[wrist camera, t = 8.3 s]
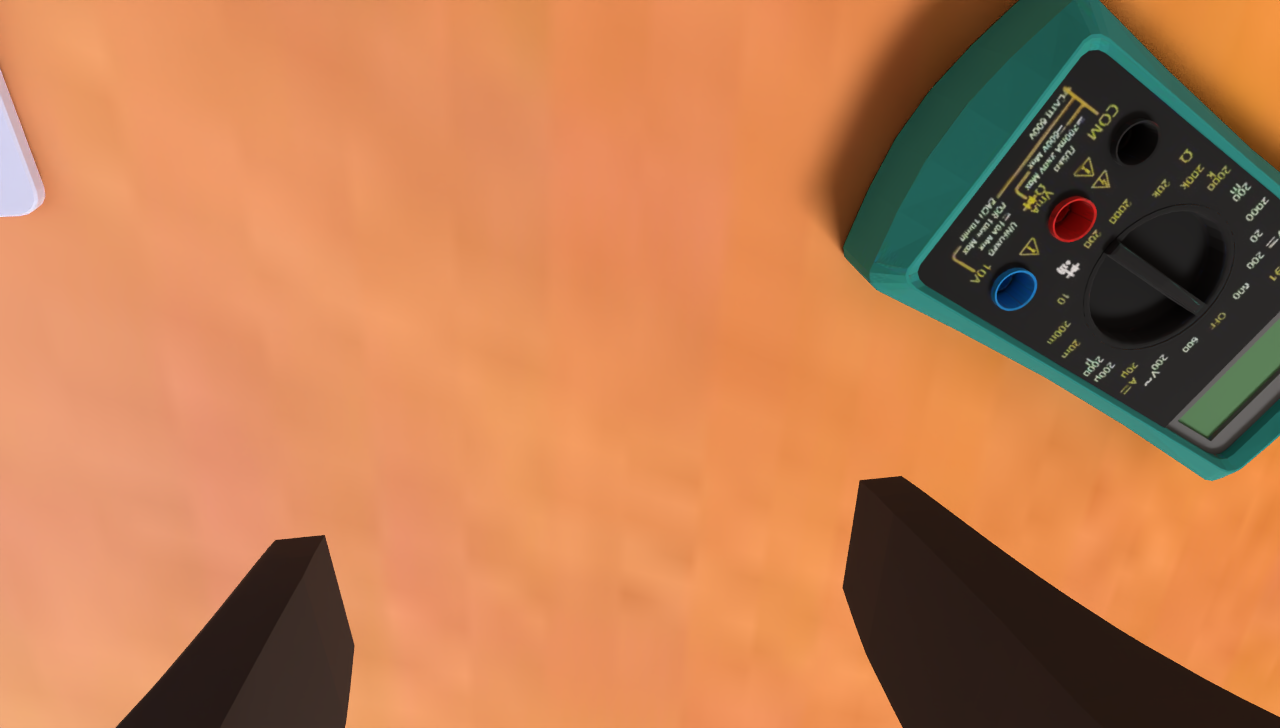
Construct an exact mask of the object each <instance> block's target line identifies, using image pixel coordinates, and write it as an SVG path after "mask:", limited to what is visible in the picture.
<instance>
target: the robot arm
mask: <svg viewBox="0 0 1280 728" xmlns="http://www.w3.org/2000/svg"><path fill="white" fill-rule="evenodd" d="M44 198H45V190H44V185H43V183H42V180H41V177H40V175H39V172H38V169H37V167H36V164H35V161H34V158H33V156H32V153H31V150H30V148H29V145H28V142H27V140H26V137H25V134H24V131H23V129H22V126H21V123H20V121H19V118H18V115H17V113H16V110H15V107H14V104H13V102H12V99H11V96H10V94H9V91H8V88H7V86H6V83H5V80H4V77H3V75H2V72H1V69H0V217H8V216H22V215H26V214H29V213H31V212H32V211H34V210H35V209H37V208H38V207H39V206H40V205H42V204H43V201H44ZM843 590H844V593H845V596H846V599H847V602H848V605H849V608H850V611H851V614H852V617H853V620H854V623H855V625H856V628H857V631H858V634H859V636H860V639H861V642H862V644H863V647H864V650H865V652H866V655H867V657H868V659H869V661H870V663H871V665H872V667H873V669H874V671H875V673H876V675H877V677H878V679H879V681H880V683H881V685H882V687H883V689H884V691H885V693H886V695H887V697H888V700H889V702H890V704H891V706H892V708H893V710H894V711H895V713H896V715H897V717H898V719H899V721H900V723H901V725H902V727H903V728H1280V717H1278V716H1276V715H1274V714H1272V713H1270V712H1268V711H1266V710H1264V709H1262V708H1260V707H1258V706H1256V705H1254V704H1252V703H1250V702H1248V701H1246V700H1244V699H1242V698H1240V697H1238V696H1236V695H1234V694H1232V693H1230V692H1229V691H1227V690H1225V689H1223V688H1221V687H1219V686H1217V685H1215V684H1213V683H1211V682H1210V681H1208V680H1206V679H1204V678H1202V677H1200V676H1199V675H1197V674H1195V673H1193V672H1192V671H1190V670H1188V669H1186V668H1185V667H1183V666H1181V665H1179V664H1178V663H1176V662H1174V661H1172V660H1171V659H1169V658H1167V657H1165V656H1163V655H1162V654H1160V653H1158V652H1156V651H1155V650H1153V649H1151V648H1149V647H1148V646H1146V645H1144V644H1143V643H1141V642H1139V641H1138V640H1136V639H1134V638H1133V637H1131V636H1129V635H1128V634H1126V633H1124V632H1123V631H1121V630H1119V629H1118V628H1116V627H1115V626H1113V625H1111V624H1110V623H1108V622H1107V621H1105V620H1104V619H1102V618H1101V617H1099V616H1098V615H1096V614H1094V613H1093V612H1091V611H1090V610H1088V609H1087V608H1085V607H1084V606H1082V605H1081V604H1079V603H1078V602H1076V601H1074V600H1073V599H1071V598H1070V597H1068V596H1067V595H1065V594H1064V593H1062V592H1061V591H1059V590H1058V589H1056V588H1055V587H1054V586H1052V585H1051V584H1049V583H1048V582H1046V581H1045V580H1043V579H1042V578H1040V577H1039V576H1038V575H1036V574H1035V573H1033V572H1032V571H1030V570H1029V569H1028V568H1026V567H1025V566H1023V565H1022V564H1021V563H1019V562H1018V561H1016V560H1015V559H1014V558H1012V557H1011V556H1009V555H1008V554H1007V553H1005V552H1004V551H1003V550H1001V549H1000V548H998V547H997V546H996V545H994V544H993V543H992V542H990V541H989V540H988V539H986V538H985V537H983V536H982V535H981V534H979V533H978V532H977V531H975V530H974V529H973V528H971V527H970V526H969V525H967V524H966V523H965V522H963V521H962V520H961V519H959V518H958V517H957V516H955V515H954V514H953V513H951V512H950V511H949V510H947V509H946V508H945V507H943V506H942V505H941V504H939V503H938V502H937V501H935V500H934V499H933V498H931V497H930V496H929V495H927V494H926V493H925V492H923V491H922V490H920V489H919V488H918V487H916V486H915V485H913V484H912V483H911V482H909V481H908V480H906V479H905V478H903V477H902V476H898V477H888V478H878V479H868V480H860V482H859V488H858V495H857V501H856V507H855V513H854V520H853V526H852V532H851V538H850V545H849V551H848V557H847V563H846V570H845V576H844V582H843ZM353 655H354V642H353V639H352V635H351V631H350V627H349V624H348V620H347V616H346V612H345V609H344V605H343V601H342V598H341V594H340V590H339V586H338V583H337V579H336V575H335V572H334V568H333V564H332V560H331V557H330V553H329V549H328V545H327V542H326V538H325V535H321V536H311V537H301V538H292V539H282V540H275V541H274V542H273V543H272V545H271V546H270V547H269V548H268V549H267V550H266V551H265V553H264V554H263V555H262V556H261V558H260V559H259V560H258V561H257V562H256V564H255V565H254V566H253V567H252V569H251V570H250V571H249V572H248V574H247V575H246V576H245V577H244V579H243V580H242V581H241V582H240V584H239V585H238V586H237V587H236V589H235V590H234V591H233V592H232V594H231V595H230V596H229V597H228V598H227V600H226V601H225V602H224V603H223V605H222V606H221V607H220V608H219V610H218V611H217V612H216V613H215V614H214V616H213V617H212V618H211V619H210V621H209V622H208V623H207V624H206V625H205V627H204V628H203V629H202V630H201V631H200V633H199V634H198V635H197V636H196V637H195V639H194V640H193V641H192V642H191V643H190V644H189V646H188V647H187V648H186V649H185V650H184V651H183V653H182V654H181V655H180V656H179V657H178V659H177V660H176V661H175V662H174V663H173V664H172V666H171V667H170V668H169V669H168V670H167V671H166V673H165V674H164V675H163V676H162V677H161V678H160V680H159V681H158V682H157V683H156V684H155V685H154V686H153V688H152V689H151V690H150V691H149V692H148V693H147V694H146V695H145V696H144V697H143V699H142V700H141V701H140V702H139V703H138V704H137V705H136V706H135V707H134V708H133V709H132V710H131V712H130V713H129V714H128V715H127V716H126V717H125V718H124V719H123V720H122V721H121V722H120V723H119V725H118V726H117V727H116V728H345V724H346V718H347V710H348V702H349V693H350V685H351V675H352V665H353Z"/></svg>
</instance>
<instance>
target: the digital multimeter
mask: <svg viewBox="0 0 1280 728" xmlns="http://www.w3.org/2000/svg"><path fill="white" fill-rule="evenodd" d="M1181 204H1186V205H1181ZM1192 204H1196V205H1192ZM1175 205H1176V206H1175ZM1207 207H1208V208H1207ZM1218 213H1219V214H1218ZM1226 221H1227V222H1228V223H1227V222H1226ZM1232 233H1233V234H1232ZM1234 243H1235V248H1234ZM843 249H844V257H845V258H846V259H847V260H848V261H849V262H850V263H851V264H852V265H853V266H854V267H855V268H856V269H857V271H858V272H859V273H860V274H861V275H862V276H863V277H864V278H865V279H866V280H867V281H868V282H869V283H870V284H871V285H872V286H873V287H874V288H875V289H876V290H878V291H880V292H882V293H884V294H886V295H888V296H890V297H892V298H894V299H896V300H898V301H900V302H902V303H904V304H906V305H908V306H910V307H912V308H914V309H916V310H918V311H920V312H922V313H924V314H926V315H928V316H930V317H932V318H934V319H936V320H938V321H940V322H942V323H944V324H946V325H948V326H950V327H952V328H954V329H956V330H958V331H960V332H961V333H963V334H965V335H967V336H969V337H971V338H973V339H974V340H976V341H978V342H980V343H982V344H984V345H986V346H988V347H989V348H991V349H993V350H995V351H997V352H999V353H1001V354H1002V355H1004V356H1006V357H1008V358H1010V359H1012V360H1014V361H1016V362H1017V363H1019V364H1021V365H1023V366H1025V367H1027V368H1029V369H1030V370H1032V371H1034V372H1036V373H1038V374H1040V375H1042V376H1044V377H1045V378H1047V379H1049V380H1050V381H1052V382H1054V383H1055V384H1057V385H1059V386H1060V387H1062V388H1064V389H1065V390H1067V391H1069V392H1070V393H1072V394H1073V395H1075V396H1077V397H1078V398H1080V399H1082V400H1083V401H1085V402H1087V403H1088V404H1090V405H1092V406H1093V407H1095V408H1097V409H1098V410H1100V411H1101V412H1103V413H1105V414H1106V415H1108V416H1110V417H1111V418H1113V419H1115V420H1116V421H1118V422H1120V423H1121V424H1123V425H1124V426H1126V427H1127V428H1129V429H1130V430H1132V431H1133V432H1135V433H1136V434H1138V435H1139V436H1141V437H1142V438H1144V439H1145V440H1147V441H1148V442H1150V443H1151V444H1153V445H1154V446H1156V447H1157V448H1159V449H1160V450H1162V451H1163V452H1165V453H1166V454H1168V455H1169V456H1171V457H1172V458H1174V459H1175V460H1177V461H1178V462H1180V463H1181V464H1183V465H1184V466H1186V467H1187V468H1189V469H1190V470H1192V471H1193V472H1195V473H1196V474H1198V475H1199V476H1201V477H1202V478H1203V479H1205V480H1210V481H1213V480H1217V479H1220V478H1223V477H1225V476H1227V475H1229V474H1232V473H1234V472H1236V471H1238V470H1240V469H1241V468H1243V467H1244V466H1245V465H1246V464H1247V463H1249V462H1250V461H1251V460H1252V459H1253V458H1254V457H1256V456H1257V455H1258V454H1259V453H1260V452H1261V451H1263V450H1264V449H1265V448H1266V447H1267V446H1269V445H1270V444H1271V443H1272V442H1273V441H1274V440H1275V439H1276V438H1278V437H1279V436H1280V172H1279V171H1278V170H1276V169H1275V168H1274V167H1273V166H1272V165H1270V164H1269V163H1268V162H1267V161H1265V160H1264V159H1263V158H1262V157H1261V156H1259V155H1258V154H1257V153H1256V152H1255V151H1253V150H1252V149H1251V148H1250V147H1249V146H1248V145H1247V144H1246V143H1245V142H1244V141H1242V140H1241V139H1240V138H1239V137H1238V136H1237V135H1236V134H1235V133H1234V132H1233V131H1232V130H1231V129H1230V128H1229V127H1228V126H1227V125H1225V124H1224V123H1223V122H1222V121H1221V120H1220V119H1219V118H1218V117H1217V116H1216V115H1215V114H1214V113H1213V112H1212V111H1211V110H1210V109H1209V108H1207V107H1206V106H1205V105H1204V104H1203V103H1202V102H1201V101H1200V100H1199V99H1198V98H1197V97H1196V96H1195V95H1194V94H1193V93H1192V92H1190V91H1189V90H1188V89H1187V88H1186V87H1185V86H1184V85H1183V84H1182V83H1181V82H1180V81H1179V80H1178V79H1177V78H1176V77H1175V76H1173V75H1172V74H1171V73H1170V72H1169V71H1168V70H1167V69H1166V68H1165V67H1164V66H1163V65H1162V64H1161V63H1160V62H1159V61H1158V60H1157V59H1156V58H1155V57H1154V56H1153V55H1152V53H1151V52H1150V51H1149V50H1148V49H1147V48H1146V47H1145V46H1144V45H1143V44H1142V43H1141V42H1140V41H1139V40H1138V39H1137V38H1136V37H1135V36H1134V35H1133V34H1132V33H1131V32H1130V31H1129V30H1128V29H1127V28H1126V27H1125V26H1124V25H1123V24H1122V23H1121V22H1120V21H1119V20H1118V19H1117V18H1116V17H1115V16H1114V15H1113V14H1112V13H1111V12H1110V11H1109V10H1108V9H1107V8H1106V7H1105V6H1104V5H1103V4H1102V3H1101V2H1100V1H1099V0H1019V1H1018V2H1017V3H1016V4H1014V5H1013V6H1012V7H1011V8H1010V9H1009V10H1008V11H1007V12H1006V13H1005V14H1004V15H1003V16H1002V17H1001V18H1000V19H999V20H998V21H997V22H995V23H994V24H993V25H992V26H991V27H990V28H989V29H988V30H987V31H986V32H985V33H984V34H983V35H982V36H981V37H980V38H979V39H978V40H976V41H975V42H974V43H973V44H972V45H971V46H970V47H969V49H968V50H967V51H966V52H965V53H964V54H963V55H962V56H961V57H960V58H959V59H958V60H957V62H956V63H955V64H954V65H953V66H952V67H951V68H950V69H949V70H948V71H947V72H946V73H945V75H944V76H943V77H942V78H941V79H940V80H939V81H938V82H937V83H936V84H935V85H934V86H933V88H932V89H931V90H930V91H929V92H928V94H927V95H926V96H925V98H924V99H923V101H922V102H921V103H920V105H919V106H918V108H917V109H916V111H915V112H914V113H913V115H912V116H911V118H910V119H909V120H908V122H907V123H906V125H905V126H904V127H903V129H902V130H901V132H900V133H899V134H898V136H897V137H896V139H895V140H894V142H893V144H892V146H891V148H890V150H889V152H888V154H887V155H886V157H885V159H884V161H883V163H882V165H881V167H880V169H879V170H878V172H877V174H876V176H875V178H874V180H873V182H872V184H871V185H870V187H869V189H868V192H867V194H866V196H865V198H864V201H863V203H862V205H861V207H860V210H859V212H858V214H857V216H856V219H855V221H854V223H853V225H852V228H851V230H850V232H849V234H848V237H847V239H846V241H845V244H844V246H843ZM1233 259H1234V261H1233ZM1231 268H1232V269H1231ZM1230 271H1231V273H1230ZM1229 274H1230V275H1229ZM1228 277H1229V278H1228ZM1226 281H1227V282H1226ZM1225 283H1226V284H1225ZM1224 285H1225V287H1224ZM929 287H930V288H929ZM1223 287H1224V288H1223ZM1222 289H1223V290H1222ZM934 290H935V291H934ZM939 293H940V294H939ZM1219 294H1220V295H1219ZM944 296H945V297H944ZM1217 297H1218V298H1217ZM1216 298H1217V299H1216ZM949 299H950V300H949ZM1215 300H1216V301H1215ZM1214 301H1215V302H1214ZM954 302H955V303H954ZM1213 302H1214V303H1213ZM959 305H960V306H959ZM1211 305H1212V306H1211ZM964 308H965V309H964ZM969 311H970V312H969ZM1206 311H1207V312H1206ZM1205 312H1206V313H1205ZM1204 313H1205V314H1204ZM974 314H975V315H974ZM1203 314H1204V315H1203ZM1202 315H1203V316H1202ZM1201 316H1202V317H1201ZM1200 317H1201V318H1200ZM1195 321H1196V322H1195ZM1194 322H1195V323H1194ZM1193 323H1194V324H1193ZM1192 324H1193V325H1192ZM1087 325H1088V326H1087ZM1191 325H1192V326H1191ZM1189 326H1190V327H1189ZM996 327H997V328H996ZM1188 327H1189V328H1188ZM1184 330H1185V331H1184ZM1182 331H1183V332H1182ZM1181 332H1182V333H1181ZM1092 333H1093V334H1092ZM1179 333H1180V334H1179ZM1178 334H1179V335H1178ZM1176 335H1177V336H1176ZM1174 336H1175V337H1174ZM1168 339H1169V340H1168ZM1166 340H1168V341H1166ZM1164 341H1166V342H1164ZM1102 342H1103V343H1102ZM1162 342H1163V343H1162ZM1157 344H1158V345H1157ZM1154 345H1155V346H1154ZM1150 346H1152V347H1150ZM1113 347H1114V348H1113ZM1141 348H1143V349H1141ZM1124 349H1128V350H1124ZM1133 349H1135V350H1133Z"/></svg>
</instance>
